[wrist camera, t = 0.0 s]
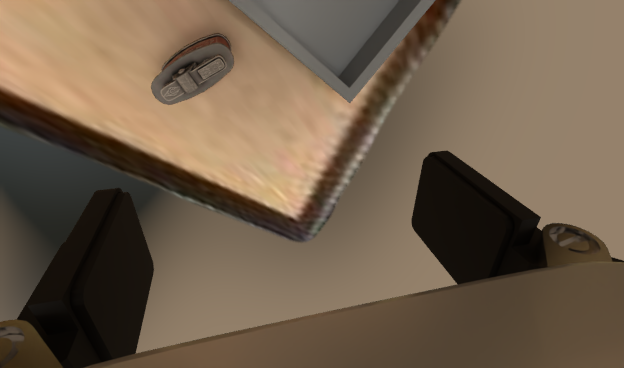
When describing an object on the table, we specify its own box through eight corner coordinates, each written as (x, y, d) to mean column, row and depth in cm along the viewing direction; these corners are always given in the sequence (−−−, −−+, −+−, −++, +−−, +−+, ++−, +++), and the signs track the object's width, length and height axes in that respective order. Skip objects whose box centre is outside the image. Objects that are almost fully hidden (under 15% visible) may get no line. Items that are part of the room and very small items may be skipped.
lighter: (175, 91, 37) (164, 122, 29) (155, 64, 35) (136, 88, 27) (237, 55, 37) (243, 75, 29) (219, 25, 35) (220, 38, 27)
